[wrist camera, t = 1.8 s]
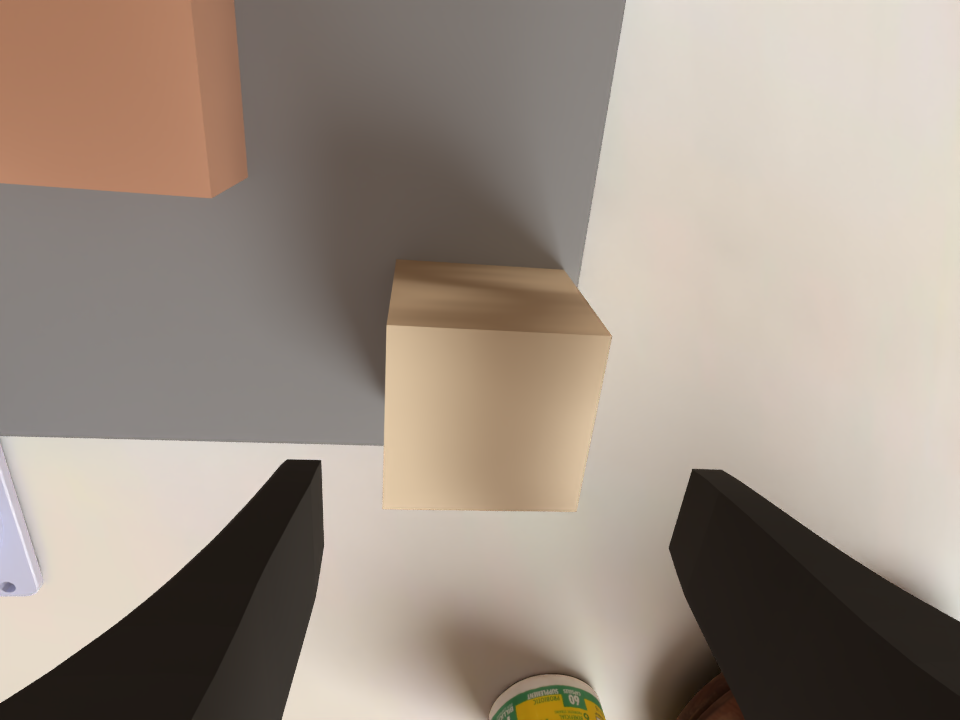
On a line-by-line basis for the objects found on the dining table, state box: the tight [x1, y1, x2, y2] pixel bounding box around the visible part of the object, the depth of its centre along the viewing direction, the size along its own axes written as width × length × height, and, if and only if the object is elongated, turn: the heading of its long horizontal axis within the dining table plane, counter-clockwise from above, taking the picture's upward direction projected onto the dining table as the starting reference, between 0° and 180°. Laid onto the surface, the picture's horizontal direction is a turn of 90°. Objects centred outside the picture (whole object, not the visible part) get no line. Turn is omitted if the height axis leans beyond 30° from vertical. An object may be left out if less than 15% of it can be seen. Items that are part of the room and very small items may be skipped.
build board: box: [0, 0, 626, 446], centre depth 14 cm, size 20×18×4 cm
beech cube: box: [382, 259, 612, 512], centre depth 16 cm, size 5×5×5 cm
